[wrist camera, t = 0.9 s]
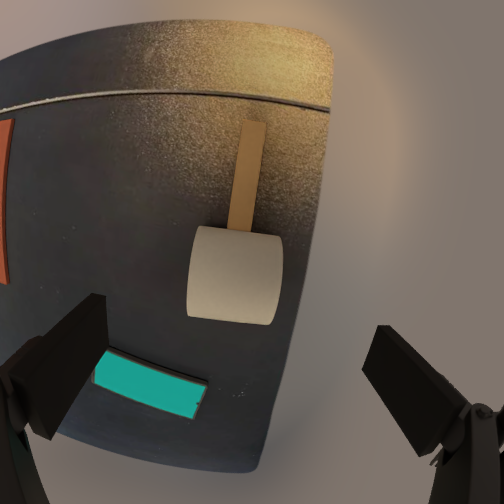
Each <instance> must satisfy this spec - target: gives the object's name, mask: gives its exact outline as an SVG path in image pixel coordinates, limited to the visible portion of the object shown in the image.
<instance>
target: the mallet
mask: <svg viewBox="0 0 504 504" xmlns="http://www.w3.org/2000/svg"><path fill="white" fill-rule="evenodd" d="M266 128H267V123H265V122H259V121H253V120H246V119H243V123H242V129H241V136H240V142H239V148H238V155H237V161H236V168H235V175H234V181H233V188H232V195H231V202H230V209H229V217H228V224H227V229H222V228H215V227H207V226H199V227H198V229H197V232H196V235H195V239H194V244H193V249H192V254H191V260H190V268H189V276H188V286H187V313H188V316H193V317H200V318H208V319H216V320H225V321H233V322H243V323H252V324H263V325H269V324H270V323H271V322H272V320H273V318H274V315H275V312H276V309H277V305H278V301H279V295H280V290H281V282H282V272H283V247H282V241H281V238H280V237H279V236H274V235H267V234H260V233H253V232H251V226H252V220H253V213H254V207H255V200H256V193H257V187H258V180H259V173H260V167H261V160H262V154H263V147H264V141H265V134H266Z"/></svg>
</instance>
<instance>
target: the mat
mask: <svg viewBox="0 0 504 504" xmlns="http://www.w3.org/2000/svg"><path fill="white" fill-rule="evenodd" d="M14 121H15V119H7V120H3V121H0V283H3V284H6V285H7V284H9V283H10V281H9V273H8V263H7V251H6V232H5V201H6V181H7V169H8V160H9V152H10V145H11V138H12V132H13V127H14Z"/></svg>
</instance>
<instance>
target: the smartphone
mask: <svg viewBox="0 0 504 504" xmlns="http://www.w3.org/2000/svg"><path fill="white" fill-rule="evenodd" d="M92 383H93V384H95V385H97V386H100V387H102V388H104V389H106V390H109V391H111V392H113V393H116V394H118V395H121V396H123V397H126V398H128V399H131V400H133V401H136V402H139V403H141V404H144V405H147V406H150V407H153V408H156V409H159V410H162V411H165V412H168V413H171V414H174V415H178V416H181V417H184V418H188V419H192V420H193V419H194V418H195V416H196V414H197V411H198V409H199V407H200V404H201V402H202V400H203V397H204V395H205V393H206V390H207V388H208V382H206V381H203V380H200V379H196V378H193V377H190V376H187V375H184V374H180V373H177V372H174V371H171V370H168V369H166V368H163V367H160V366H157V365H154V364H152V363H149V362H146V361H144V360H141V359H138V358H136V357H133V356H131V355H128V354H126V353H123V352H121V351H119V350H116V349H114V348H112V347H108V349H107V350H106V352H105V353H104V355H103V356H102V358H101V359H100V361H99V362H98V364H97V365H96V367H95V368H94V370H93V372H92Z"/></svg>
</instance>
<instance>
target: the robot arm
mask: <svg viewBox="0 0 504 504" xmlns="http://www.w3.org/2000/svg"><path fill="white" fill-rule="evenodd" d="M108 347H109V338H108V326H107V311H106V296H104V295H99V294H94V293H91V294H90V295H89V296H88V297H87V298H85V299H84V300H83V301H82V302H81V303H80V304H78V305H77V306H76V307H75V308H74V309H73V310H72V311H71V312H69V313H68V314H67V315H66V316H65V317H64V318H63V319H62V320H61V321H59V322H58V323H57V324H56V325H55V326H54V327H53V328H52V329H51V330H50V331H49V332H48V333H46V334H45V335H44V336H43V337H42V336H36V337H34V338H32V339H30V340H28V341H27V342H26V343H25V344H24V345H23V346H22V347H21V348H20V349H18V350H17V351H16V354H13V355H12V356H11V357H10V358H9V359H8V360H7V361H6V362H5V363H4V364H3V365H2V366H1V367H0V504H50V503H49V501H48V498H47V496H46V494H45V491H44V488H43V486H42V483H41V480H40V477H39V475H38V472H37V469H36V466H35V463H34V459H33V456H32V453H31V449H30V445H29V441H28V437H27V434H26V432H25V429H24V427H25V426H26V424H27V423H29V425H30V427H31V429H32V430H33V432H34V433H35V434H37V435H40V436H42V437H44V438H46V439H48V440H50V441H51V439H52V437H53V436H54V434H55V432H56V430H57V429H58V427H59V425H60V424H61V422H62V420H63V418H64V417H65V415H66V413H67V412H68V410H69V408H70V407H71V405H72V403H73V402H74V400H75V398H76V397H77V395H78V394H79V392H80V390H81V389H82V387H83V386H84V384H85V382H86V381H87V379H88V378H89V376H90V375H91V373H92V372H93V370H94V368H95V367H96V365H97V364H98V362H99V361H100V359H101V358H102V356H103V355H104V353H105V352H106V350H107V349H108ZM362 371H363V372H364V374H365V375H366V377H367V378H368V380H369V381H370V383H371V384H372V386H373V387H374V389H375V390H376V392H377V393H378V395H379V396H380V398H381V399H382V401H383V402H384V404H385V405H386V407H387V408H388V410H389V411H390V413H391V414H392V416H393V418H394V419H395V421H396V422H397V424H398V425H399V427H400V428H401V430H402V431H403V433H404V435H405V436H406V438H407V439H408V441H409V442H410V444H411V446H412V447H413V449H414V450H415V452H416V453H417V455H418V456H419V457H421V456H424V455H427V454H430V453H432V452H433V451H434V450H435V448H436V447H437V446H438V444H439V443H441V444H442V446H443V448H442V449H441V450H440V452H439V453H438V454H437V455H436V456H435V458H434V459H433V460H432V461H431V463H430V465H433V463H434V462H435V461H436V460H438V462H437V464H436V465H435V467H437V468H436V473H435V479H434V483H433V487H432V491H431V496H430V500H429V503H428V504H504V451H503V452H502V453H500V452H499V449H500V448H501V446H502V445H503V444H504V405H503V407H502V409H501V410H500V412H493V410H492V409H491V408H489V407H488V406H487V405H484V404H481V403H476V404H473V405H471V404H470V403H469V402H468V401H467V399H466V398H465V397H464V396H462V394H461V393H460V392H459V391H458V390H457V389H456V388H454V386H453V385H452V384H451V383H449V381H448V380H447V379H446V378H445V377H444V376H443V375H441V374H440V373H438V372H437V371H436V370H435V369H434V368H433V367H432V366H431V365H430V364H429V363H428V362H427V361H426V360H425V359H424V358H423V357H422V356H421V355H420V354H419V353H418V352H417V351H416V350H415V349H414V348H413V347H411V345H410V344H409V343H407V342H406V341H405V340H404V339H403V338H402V337H401V336H400V335H399V334H398V333H397V332H396V331H395V330H394V329H393V328H392V327H391V326H390V325H378V327H377V329H376V332H375V335H374V338H373V341H372V344H371V346H370V349H369V352H368V354H367V357H366V360H365V362H364V365H363V368H362Z"/></svg>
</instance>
